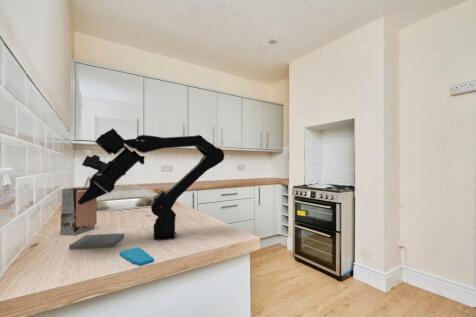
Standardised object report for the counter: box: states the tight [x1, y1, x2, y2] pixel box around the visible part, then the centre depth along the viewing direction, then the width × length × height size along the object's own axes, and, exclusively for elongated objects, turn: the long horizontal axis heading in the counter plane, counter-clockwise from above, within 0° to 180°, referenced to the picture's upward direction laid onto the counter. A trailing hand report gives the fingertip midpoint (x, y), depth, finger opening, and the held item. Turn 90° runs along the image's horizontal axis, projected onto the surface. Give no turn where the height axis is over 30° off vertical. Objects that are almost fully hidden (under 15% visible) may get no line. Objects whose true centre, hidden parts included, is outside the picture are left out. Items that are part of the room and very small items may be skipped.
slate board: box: [68, 232, 125, 250], centre depth 73 cm, size 12×10×1 cm
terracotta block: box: [76, 190, 98, 227], centre depth 69 cm, size 5×5×10 cm
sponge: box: [119, 246, 155, 267], centre depth 61 cm, size 2×12×6 cm
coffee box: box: [59, 186, 96, 236], centre depth 86 cm, size 9×6×16 cm
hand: (79, 202), depth 68 cm, fingers closed on terracotta block, 5 cm apart
